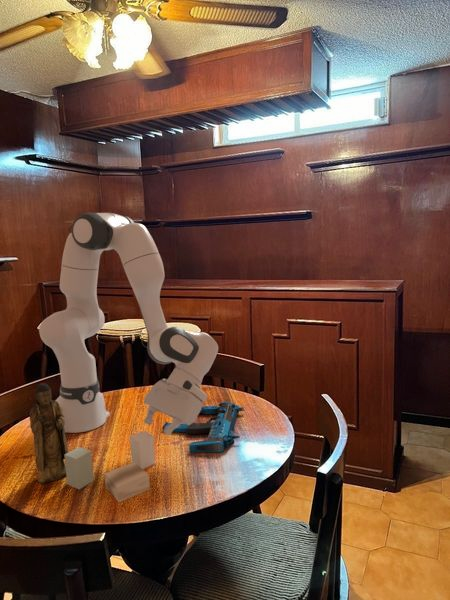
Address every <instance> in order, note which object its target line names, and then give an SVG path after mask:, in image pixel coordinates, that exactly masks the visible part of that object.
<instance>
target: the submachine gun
mask: <svg viewBox="0 0 450 600" xmlns="http://www.w3.org/2000/svg"><path fill="white" fill-rule="evenodd" d="M240 412H245V407H243V406H242V407H240V405H239V404H235V403H233V402H230V399H229V398H227V399H226V401H222V402H220V403H219V404H218V405H202V408H201V411H200V413H199V414H200V415H201V414H203V415H217V416H212V417H209V419H208V420H207V421H206V422H193V423H192V424H191V425H187V424H185V423H181V424H180V426H178V427H177V428H176V429H174V430H173V431H172V433H186V434H187V435H199V434H200V435H201V434H208V436H207V439H204V440H199V441H192V442H190V443H189V445H188V448H189V452H195V453H196V452H197V453H205V452H206V453H222V452H223V451H224V449H229V444H235V439H240V438H241V436H240V435H234V429H235V425H236V420H237V417H238V416H237V415H238V414H239V413H240ZM199 414H198V415H199ZM171 423H172V422H169V421H165V422H164V424H163V425H162V427H161V429H162V431H163V430H164V429H165V427H166V426H169V425H170V424H171Z"/></svg>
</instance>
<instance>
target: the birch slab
mask: <svg viewBox="0 0 450 600" xmlns="http://www.w3.org/2000/svg"><path fill="white" fill-rule="evenodd" d="M103 475H104V483H105V485H104V486H105V489H106V490H108V492H109V493H110V494H111V496H113V497H114V499H115V500H116V501H117V502H118V503H121V502H123V501H126V500H128V499H130V498H132V497H134V496H137V495H139V494H141V493H144V492H146V491H149V490H150V489H151V485H150V484H151V483H150V475H149V473H148V472H147V471H145V470H144V469H142V468H141V467H139V466H138V465H137V464H136V463H135V462H133V463H132V462H130V463H128V464H125V465H122V466H120V467H116V468H115V469H112V470H109V471H107V472H104V473H103Z"/></svg>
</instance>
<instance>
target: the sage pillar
mask: <svg viewBox="0 0 450 600" xmlns="http://www.w3.org/2000/svg"><path fill="white" fill-rule="evenodd" d="M64 457H65V459H64V464H65V466H66V484H67V485H68V486H69V487H72V488H74V489H76V490H81V489H83V488H84V487H86V486H87V485H90V483H92V482H93V481H94V479H95V478H94V469H93V459H92V458H93V457H92V451H91V450H89V449H86V448H83V447H81V446H78V447H76V448H74V449H72V450H70V451H68V453H67V454H65V455H64Z"/></svg>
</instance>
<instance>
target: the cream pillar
mask: <svg viewBox="0 0 450 600" xmlns="http://www.w3.org/2000/svg"><path fill="white" fill-rule="evenodd" d="M129 441H130V442H129V443H130V453H131V455H130V457H131V463H133V462H135V463H136V464H137V465H138V466H139V467H141V468H142V469H143V470H144V469H147V468H149V467H151V466H153V465H155V464H156V457H155V456H156V454H155V440H154V435H153V434H151V433H149V432H148V431H146V430H142V431H139V432H136V433H134V434H132V435H129Z"/></svg>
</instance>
